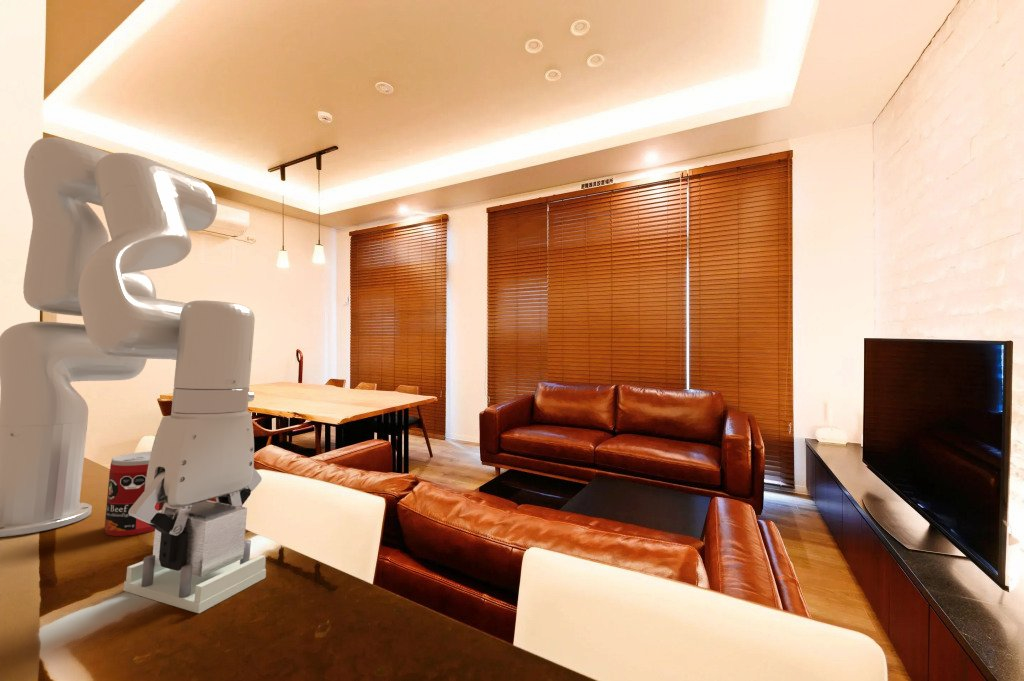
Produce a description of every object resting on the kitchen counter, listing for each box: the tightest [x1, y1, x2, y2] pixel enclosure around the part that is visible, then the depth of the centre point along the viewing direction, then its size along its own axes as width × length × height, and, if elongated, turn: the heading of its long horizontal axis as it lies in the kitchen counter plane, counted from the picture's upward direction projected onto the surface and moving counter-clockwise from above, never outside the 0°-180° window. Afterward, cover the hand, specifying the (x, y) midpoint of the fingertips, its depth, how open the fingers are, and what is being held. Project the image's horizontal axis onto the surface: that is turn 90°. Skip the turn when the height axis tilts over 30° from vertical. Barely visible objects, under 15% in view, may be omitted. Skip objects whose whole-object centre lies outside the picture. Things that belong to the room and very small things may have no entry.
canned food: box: [104, 451, 165, 537], centre depth 65 cm, size 8×8×11 cm
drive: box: [152, 500, 248, 577], centre depth 49 cm, size 8×5×6 cm, turn 72°
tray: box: [123, 539, 267, 614], centre depth 49 cm, size 12×8×4 cm, turn 72°
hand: (198, 555), depth 49 cm, fingers closed on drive, 5 cm apart
